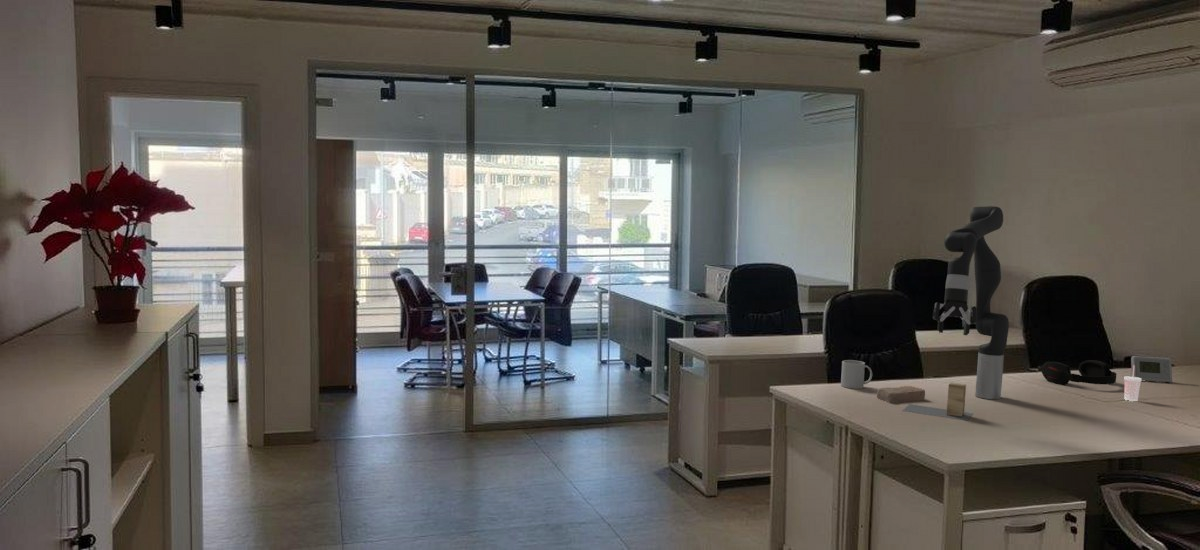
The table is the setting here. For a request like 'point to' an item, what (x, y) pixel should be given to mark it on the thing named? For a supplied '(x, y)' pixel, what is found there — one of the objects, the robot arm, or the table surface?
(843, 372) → the mug
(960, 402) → the oak block
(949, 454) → the table surface
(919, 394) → the brick
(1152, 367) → the digital clock
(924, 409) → the mat
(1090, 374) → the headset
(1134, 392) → the beverage cup
